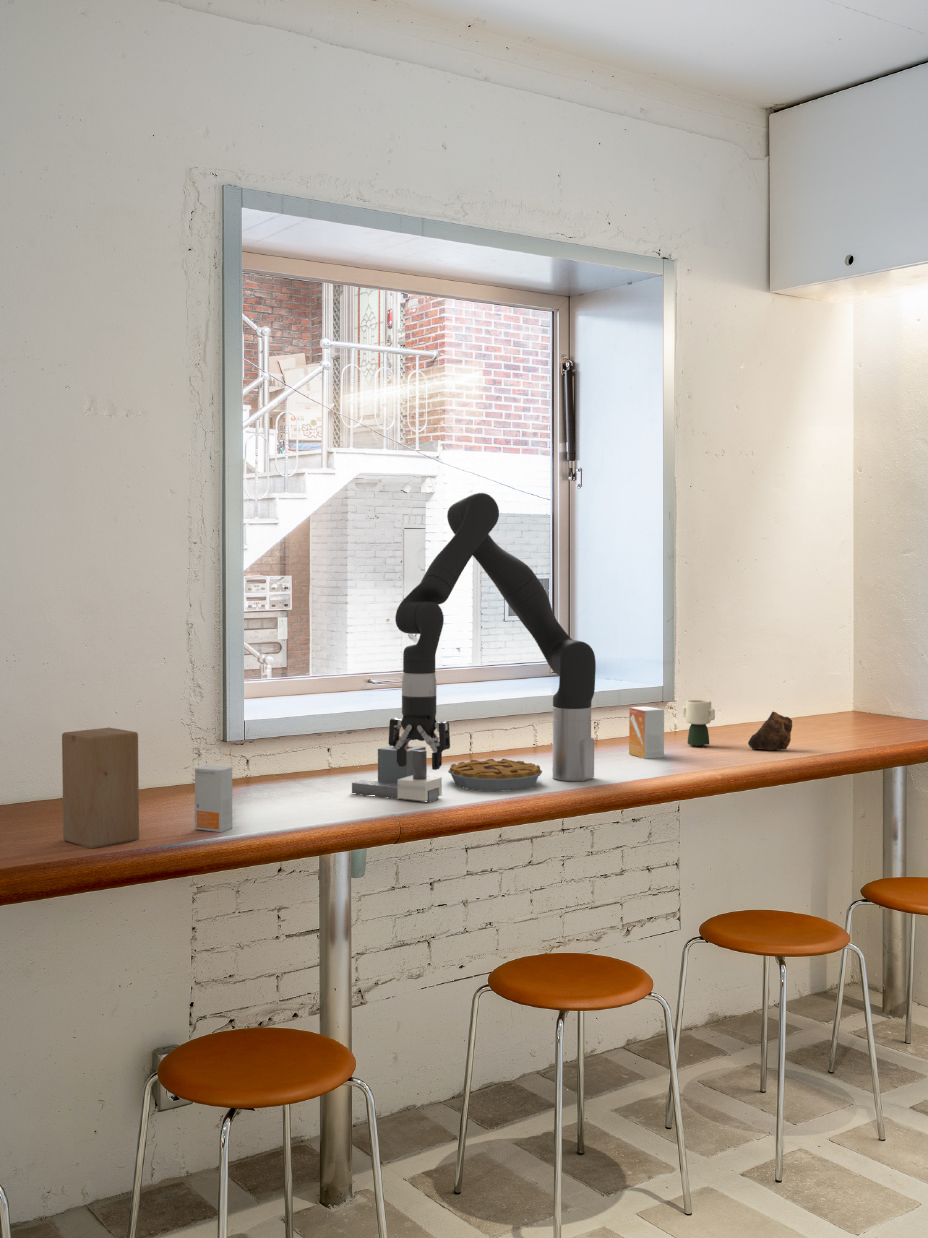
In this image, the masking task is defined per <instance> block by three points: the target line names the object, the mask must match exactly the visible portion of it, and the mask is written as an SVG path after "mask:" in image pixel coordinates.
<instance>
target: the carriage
mask: <svg viewBox="0 0 928 1238" xmlns="http://www.w3.org/2000/svg"><path fill="white" fill-rule="evenodd" d="M427 752H428V751H427V750H414V751H413V775H411V776H408V777H405V778H401V779H398V780H397V781H398V798H403V799H412V800H420V801H427V800H428V791H429V790H432V789H435V788H438V797H441V796H442V795H443V792H442V791H443V789H442V787H443V784H442V782H443V781H442V779H443V777H441V776H432V775H431V776H430V775H428V774H427V773H428V772H427V767H428V765H427V764H428V763H427V757H428V756H427V754H428V753H427Z"/></svg>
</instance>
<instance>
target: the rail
mask: <svg viewBox="0 0 928 1238" xmlns="http://www.w3.org/2000/svg"><path fill="white" fill-rule="evenodd" d="M352 793H356V794H355V795H357V794H362V795H361V796H366V795H375V796H379V797H378V798H384V797H388V798H387V799H392V798H398V784H395V783H386V782H378V781H377V780H376V781H375V780H367V779H362V780H356V781H354V782H351V794H352ZM375 796H374V797H375ZM401 799H403V798H399V799H398V800H401ZM437 799H438V800H439V796H438V788H435V789H432V790H429V791H428V800H427V802H426V803H428V802H429V803H431V802H430V801H432V802H434V801H433V800H435V801H437ZM410 800H412V799H406V800H405V801H410ZM419 801H420V800H415V801H414V802H419Z"/></svg>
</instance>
